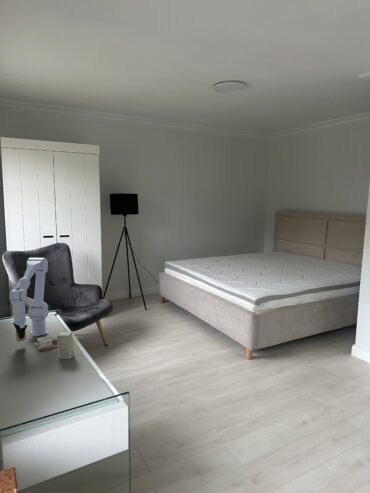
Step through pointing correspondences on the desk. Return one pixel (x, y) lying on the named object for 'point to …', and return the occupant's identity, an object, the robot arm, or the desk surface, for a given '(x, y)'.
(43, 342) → the plate
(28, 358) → the desk surface
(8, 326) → the desk surface
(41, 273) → the robot arm
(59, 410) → the desk surface
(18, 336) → the terracotta block
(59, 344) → the skincare box
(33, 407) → the desk surface
